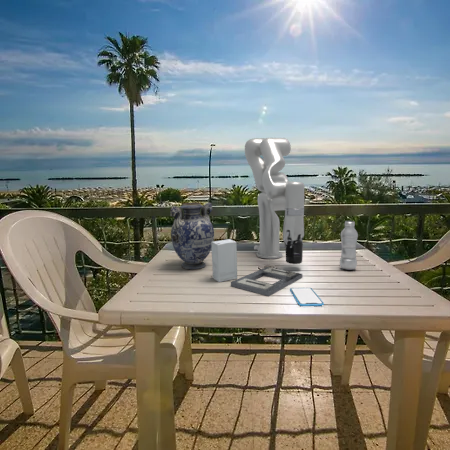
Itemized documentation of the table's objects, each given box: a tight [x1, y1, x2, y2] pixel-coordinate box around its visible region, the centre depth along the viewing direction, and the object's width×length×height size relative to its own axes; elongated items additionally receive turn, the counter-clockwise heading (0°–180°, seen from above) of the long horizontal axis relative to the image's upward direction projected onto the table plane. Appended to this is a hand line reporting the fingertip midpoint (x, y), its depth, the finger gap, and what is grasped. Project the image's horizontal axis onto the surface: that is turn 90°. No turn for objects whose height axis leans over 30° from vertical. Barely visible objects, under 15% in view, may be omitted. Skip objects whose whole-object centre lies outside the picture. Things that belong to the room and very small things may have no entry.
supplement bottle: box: [285, 234, 304, 265], centre depth 132 cm, size 7×7×12 cm
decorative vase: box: [169, 201, 215, 271], centre depth 139 cm, size 21×18×28 cm
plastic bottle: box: [339, 220, 359, 271], centre depth 131 cm, size 6×7×20 cm
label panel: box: [230, 266, 303, 297], centre depth 119 cm, size 16×24×2 cm, turn 140°
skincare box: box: [211, 238, 238, 283], centre depth 122 cm, size 8×6×15 cm
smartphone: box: [289, 287, 325, 307], centre depth 103 cm, size 8×1×15 cm
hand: (294, 254), depth 133 cm, fingers closed on supplement bottle, 6 cm apart
